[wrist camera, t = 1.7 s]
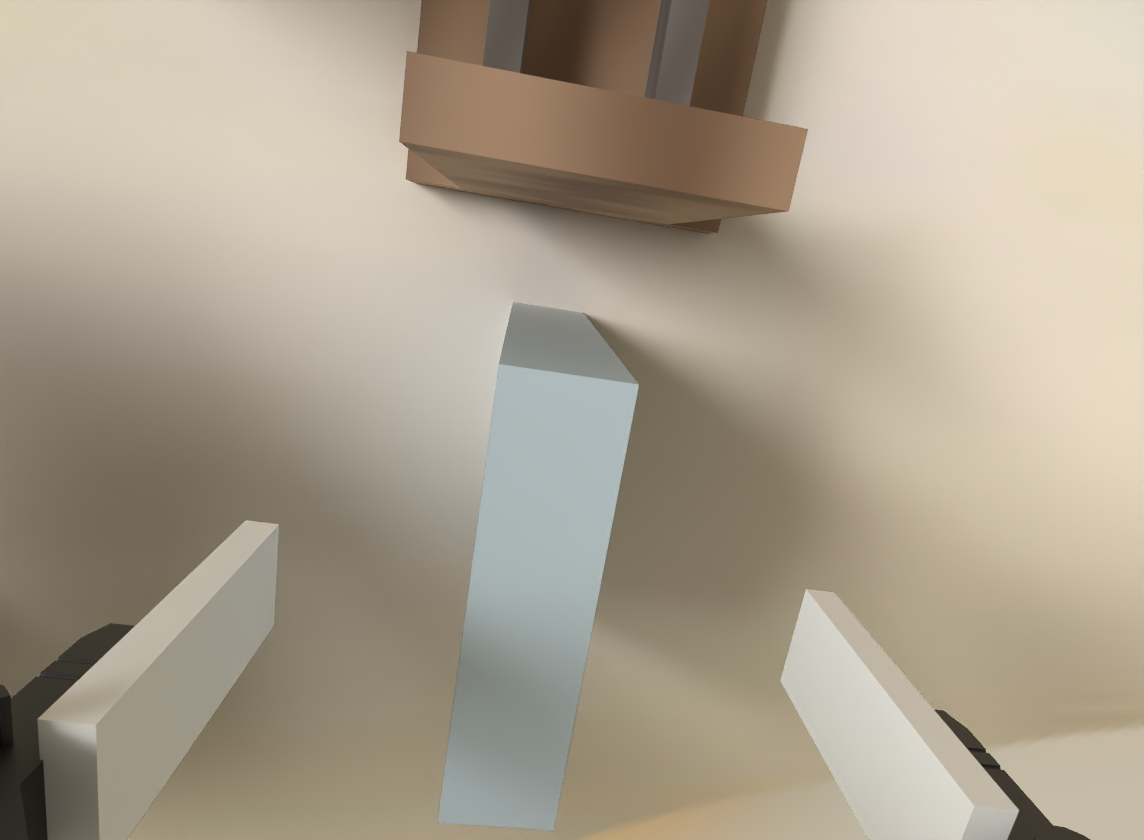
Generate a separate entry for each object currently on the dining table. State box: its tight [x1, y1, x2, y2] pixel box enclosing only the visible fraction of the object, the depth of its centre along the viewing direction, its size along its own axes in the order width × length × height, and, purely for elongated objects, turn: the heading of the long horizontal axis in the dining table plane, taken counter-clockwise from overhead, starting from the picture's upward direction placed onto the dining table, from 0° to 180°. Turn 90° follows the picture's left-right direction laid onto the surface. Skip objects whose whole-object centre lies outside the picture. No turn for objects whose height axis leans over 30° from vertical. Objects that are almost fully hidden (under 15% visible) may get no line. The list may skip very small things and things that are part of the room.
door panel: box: [437, 302, 639, 831], centre depth 22 cm, size 3×12×14 cm, turn 171°
